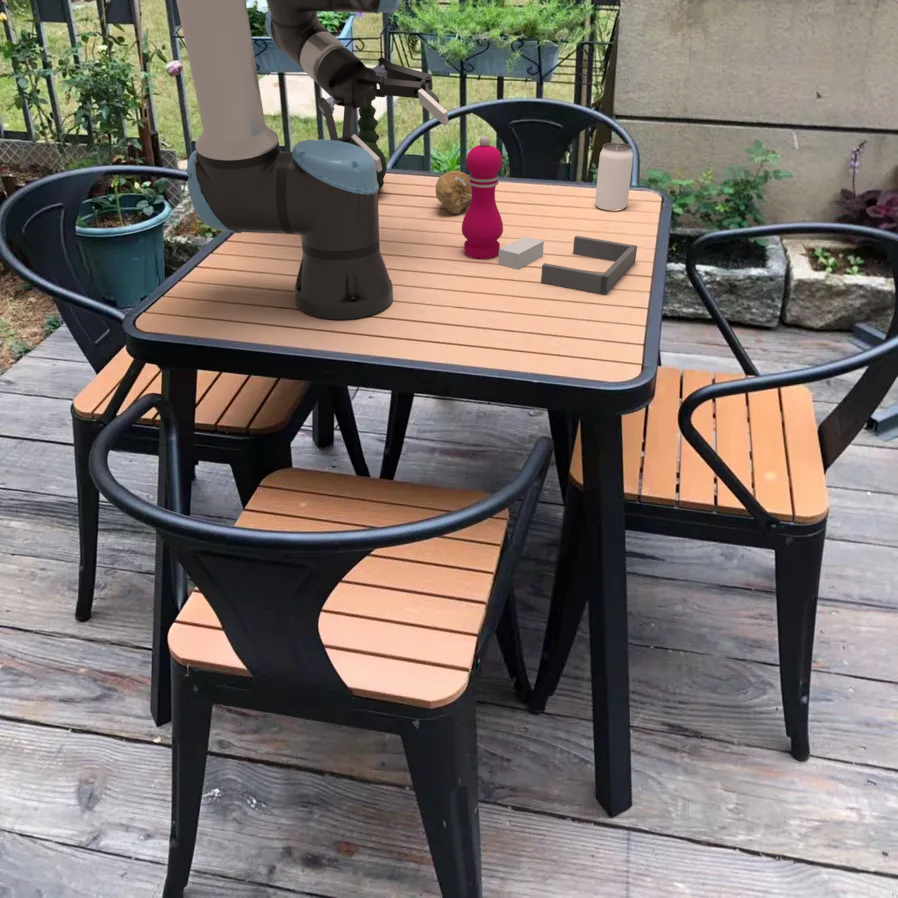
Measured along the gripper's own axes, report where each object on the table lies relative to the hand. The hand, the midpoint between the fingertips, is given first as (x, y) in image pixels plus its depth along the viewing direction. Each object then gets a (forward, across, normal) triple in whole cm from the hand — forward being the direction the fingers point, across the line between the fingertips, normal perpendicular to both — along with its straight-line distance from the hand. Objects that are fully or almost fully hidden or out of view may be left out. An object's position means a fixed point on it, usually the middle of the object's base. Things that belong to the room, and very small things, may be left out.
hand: (413, 142), depth 137 cm
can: (+12, -37, -38) cm, 55 cm away
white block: (+18, -7, -20) cm, 28 cm away
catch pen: (+29, -13, -17) cm, 36 cm away
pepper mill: (+12, -3, -21) cm, 24 cm away
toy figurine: (-28, -4, -41) cm, 50 cm away
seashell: (-8, -13, -36) cm, 39 cm away
